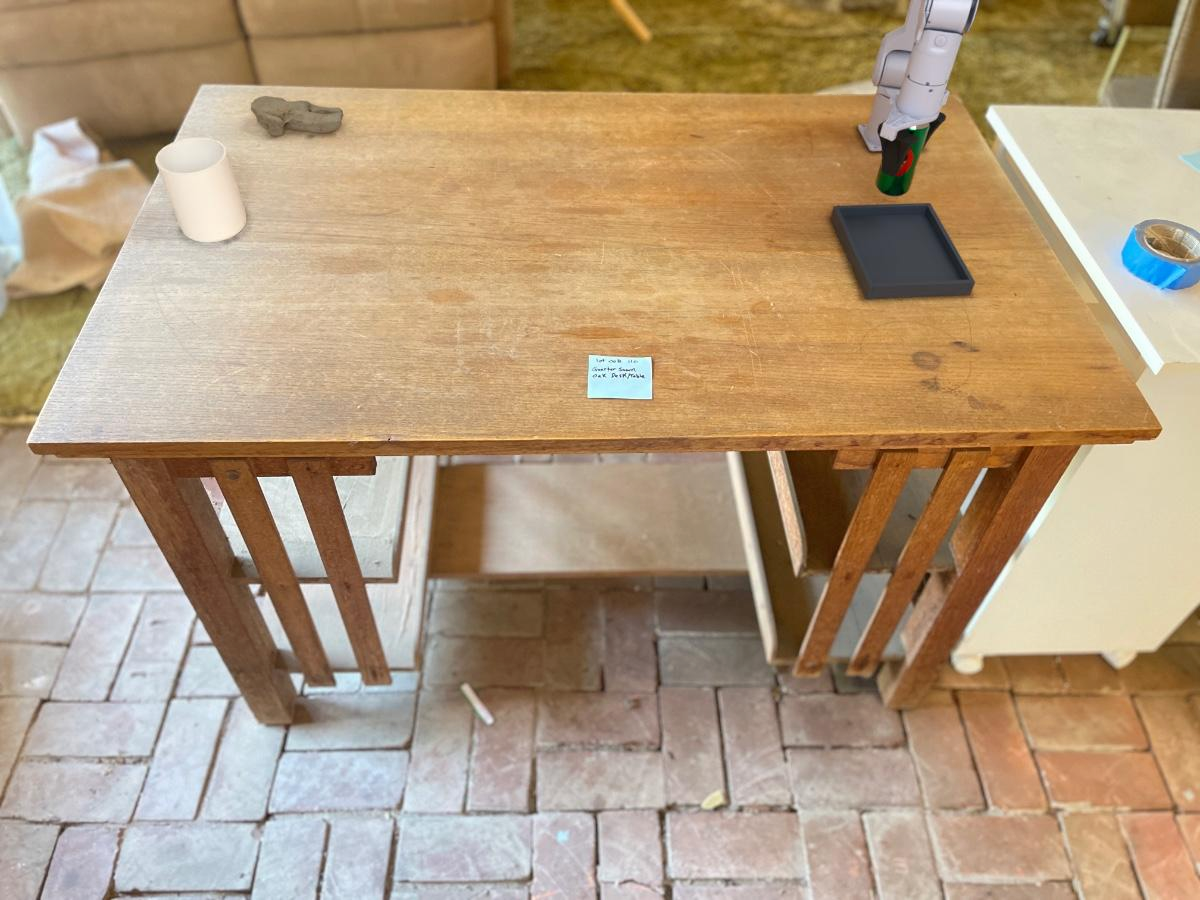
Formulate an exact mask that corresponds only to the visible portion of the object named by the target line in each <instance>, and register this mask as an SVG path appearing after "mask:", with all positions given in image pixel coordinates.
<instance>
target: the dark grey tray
mask: <svg viewBox="0 0 1200 900" xmlns="http://www.w3.org/2000/svg"><path fill="white" fill-rule="evenodd" d="M830 220H831V223H832V225H833V227H834V230H835V232H836V235H837V237H838V239H839V241H840V244H841V246H842V249H843V251H844V253H845V255H846V257H847V260H848V262H849V264H850V266H851V270H852V272H853V273H854V276H855V279H856V280H857V282H858V285H859V286H860V290H861V292H862V294H863V296H864V298H865V299H864V300H872V299H873V300H876V299H899V298H900V299H901V298H903V299H904V298H925V297H951V296H952V297H953V296H954V297H955V296H970V295H971V293H972V291H973V289H974V287H975V284H976V281H975V280H974V277H973V276H972V273H971V272H970V271H969V269H968V267H967V265H966V263H965V262H964V260H963V258H962V256H961V254H960V252H959V251H958V249H957V248H956V246H955V244H954V243H953V240H952V239H951V237H950V235H949V234H948V231H947V230H946V228H945V227H944V224H943V223H942V221H941V219H940V218H939V216H938V214H937V212H936V210H935V209H934V207H933V206H932V204H931V203H930V202H918V203H917V202H914V203H913V202H912V203H886V204H885V203H884V204H883V203H881V204H879V203H878V204H852V205H851V204H850V205H849V204H848V205H847V204H846V205H833V206H832V211H831V214H830Z"/></svg>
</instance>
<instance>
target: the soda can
mask: <svg viewBox="0 0 1200 900" xmlns="http://www.w3.org/2000/svg"><path fill="white" fill-rule="evenodd" d="M929 127H930V122H929V123H925V124H921V125H918V126H914V127H910V128H908V130H909V134H912V135H914V136H916V137H919V139H918V140H917V141H916V142H915V143H914V145H913V146H912V147H911V149H910V150H909V152H908V153H907V155H906V157H905V159H904V161H903V163H902V166H901V168H900V170H899V172H898V173H897V174H896V176H894V177H892V176H890V175H888V174H885V173H883V172H882V159H881V160H880V164H879V168H878V171H877V174H876V178H875V180H874V181H875V183H874V184H875V187H876V189H877V190H878V191H879V192H880V193H881V194H883V195H885V196H888V197H901V196H903V195H905V194H907V193H908V192H909V191H910V189H911V186H912V183H913V180H914V177H915V174H916V171H917V167H918V164H919V161H920V159H921V155H922V152H923V150H924V149H923V146H924V143H925V140H926V137H927V133H928V130H929ZM922 149H923V150H922Z"/></svg>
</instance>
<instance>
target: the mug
mask: <svg viewBox="0 0 1200 900" xmlns="http://www.w3.org/2000/svg"><path fill="white" fill-rule="evenodd" d="M154 161H155V164H156V168H157V170H158V171H159V175H160V177H161V181H162V183H163V185H164V188H165V191H166V194H167V196H168V199H169V202H170V204H171V207H172V209H173V212H174V215H175V217H176V218H175V219H176V220H177V223H178V225H179V228H180V231H182V233H183V235H184V236H185V237H187V238H188V239H190V240H191V241H195V242H199V243H208V244H212V243H220V242H224V241H226V240H229V239H231V238H234V237H235V236H236V235H238V234H239V233H240V232H241V231H242V230H243V228H245V226H246V224H247V212H246V208H245V205H244V203H243V199H242V196H241V193H240V189H239V186H238V183H237V180H236V176H235V172H234V170H233V166H232V163H231V160H230V156H229V154H228V150H227V148H226V146H225V144H223V143H222V142H220V141H219V140H217V139H214V138H209V137H201V136H200V137H197V136H196V137H187V138H183V139H178V140H175V141H174V142H171V143H170V142H169V144H167V145H166V146H164V147H162V148H161V149H160V150H159V151H158V152H157V154H156V156H155V160H154Z"/></svg>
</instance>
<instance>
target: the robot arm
mask: <svg viewBox="0 0 1200 900" xmlns="http://www.w3.org/2000/svg"><path fill="white" fill-rule="evenodd" d="M979 3H980V0H910V1H909V5H908V9H907V13H906V16H905V20H904V23H903V24H902V25H901V26H899V27H897V28H895V29H893V30H891V31H888V32H886V34H885V35H884V37H882V38H881V43H880V46H879V49H878V51H877V54H876V57H875V62H874V65H873V69H872V76H871V83H872V85H873V87H877V88H876V92H875V95H874V98H873V102H872V107H871V110H870V113H869V118H868V122H867V124H859V125H858V126H857V129H858V131H859V134H860V135H861V137H862V139H863V141H864V143H865V145H866V147H867V148H868V150H869V151H870V152H881V160H882V172H883V173H885V174H888V175H890V176H892V177H894V176H896V174H897V173H898V172H899V170H900V168H901V166H902V163H903V161H904V159H905V157H906V155H907V153H908V152H909V150H910V149H911V147H912V146H913V145H914V143H915V142H916V141H917V140H918V139H919V137H916V136H914V135H912V134H909V130H908V128H910V127H914V126H918V125H921V124H925V123H929V122H930V127H929V130H928V133H927V137H926V140H925V143H924V146H923V149H922V151H923V150H924V149H925V147H926V145H927V143H928V142H929V140H930V139H931V137H932V136H933V134H934V133H935V132H936V130H937V129H938V128H939V127H940V126H941V125H943V123H944V122H945V121H946V119H947V115H946V114H945V112H942V111H941V110H942V107H944V106H945V105H946V104H947V101H948V98H949V95H950V91H949V90H947V86H948V83H949V80H950V77H951V74H952V70H953V68H954V64H955V61H956V59H957V55H958V52H959V50H960V46H961V43H962V41H963V37H964V34H965V35H967V34H968V33H969V31H970V29H971V27H972V25H973V23H974V20H975V18H976V15H977V11H978V8H979Z"/></svg>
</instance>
